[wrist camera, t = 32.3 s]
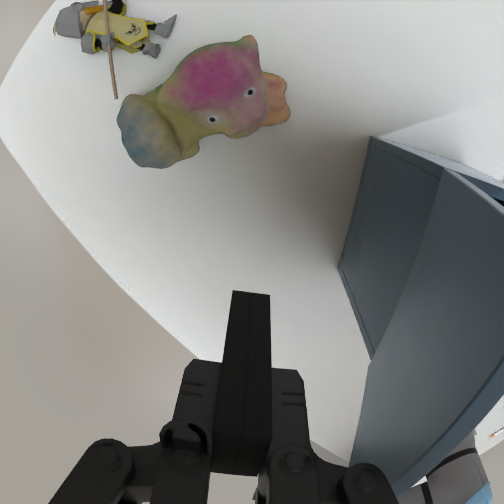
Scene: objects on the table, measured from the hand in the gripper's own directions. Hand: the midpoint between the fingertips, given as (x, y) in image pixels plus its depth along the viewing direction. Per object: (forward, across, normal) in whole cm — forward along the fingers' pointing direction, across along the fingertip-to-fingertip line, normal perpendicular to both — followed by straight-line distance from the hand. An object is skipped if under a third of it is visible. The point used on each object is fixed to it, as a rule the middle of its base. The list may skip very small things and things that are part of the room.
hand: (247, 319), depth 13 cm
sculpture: (+20, -5, +7) cm, 22 cm away
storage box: (+20, +16, 0) cm, 25 cm away
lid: (-1, +8, 0) cm, 8 cm away
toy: (+17, -8, +18) cm, 26 cm away
